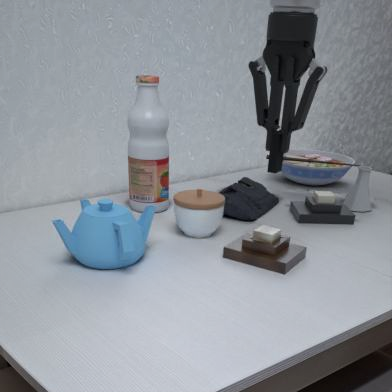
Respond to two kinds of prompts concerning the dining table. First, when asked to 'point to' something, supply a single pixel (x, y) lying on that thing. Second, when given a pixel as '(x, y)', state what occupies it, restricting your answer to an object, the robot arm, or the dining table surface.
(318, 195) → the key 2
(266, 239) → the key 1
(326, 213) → the block
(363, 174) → the flask
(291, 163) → the ramen bowl
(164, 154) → the fruit juice
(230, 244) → the block
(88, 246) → the teapot
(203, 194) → the trinket box
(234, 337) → the dining table surface
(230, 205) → the dark slate chunk
